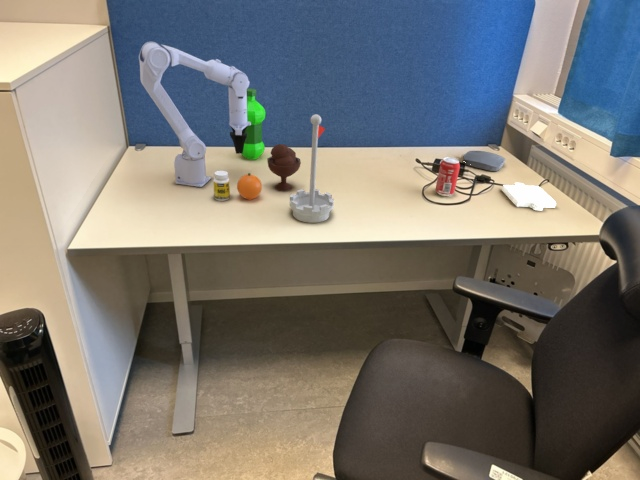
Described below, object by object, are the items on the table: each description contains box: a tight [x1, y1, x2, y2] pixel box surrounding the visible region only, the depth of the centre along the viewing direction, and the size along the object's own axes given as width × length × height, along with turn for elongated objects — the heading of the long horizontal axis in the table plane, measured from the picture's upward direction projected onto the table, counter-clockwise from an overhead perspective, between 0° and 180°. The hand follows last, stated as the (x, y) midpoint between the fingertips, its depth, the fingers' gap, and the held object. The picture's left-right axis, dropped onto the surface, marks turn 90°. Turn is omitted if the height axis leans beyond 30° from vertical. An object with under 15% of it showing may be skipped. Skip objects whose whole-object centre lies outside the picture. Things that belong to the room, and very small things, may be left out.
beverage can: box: [435, 156, 461, 197], centre depth 157 cm, size 6×6×12 cm
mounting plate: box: [501, 182, 557, 212], centre depth 159 cm, size 18×13×2 cm
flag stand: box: [289, 113, 335, 224], centre depth 133 cm, size 13×13×30 cm
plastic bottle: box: [241, 88, 266, 160], centre depth 172 cm, size 10×10×25 cm
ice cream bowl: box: [267, 143, 302, 192], centre depth 153 cm, size 11×11×15 cm
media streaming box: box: [461, 150, 506, 172], centre depth 186 cm, size 15×15×3 cm
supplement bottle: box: [213, 170, 231, 202], centre depth 145 cm, size 5×5×8 cm
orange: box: [236, 173, 263, 201], centre depth 146 cm, size 8×8×8 cm
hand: (239, 149), depth 158 cm, fingers open, 7 cm apart
